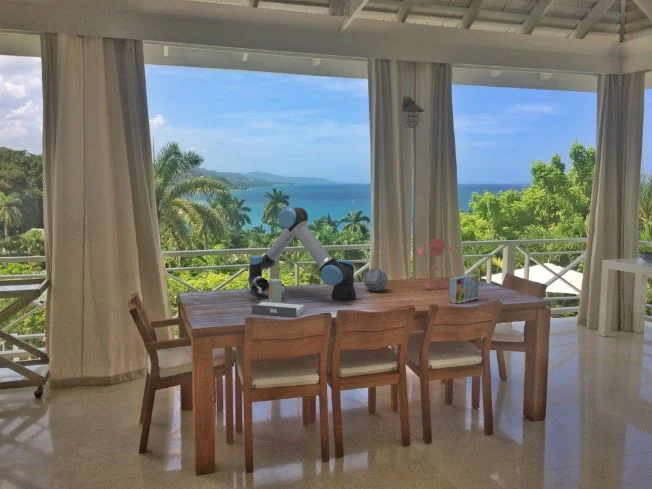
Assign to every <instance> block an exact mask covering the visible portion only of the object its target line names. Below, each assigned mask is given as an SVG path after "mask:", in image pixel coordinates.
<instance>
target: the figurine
mask: <svg viewBox="0 0 652 489" xmlns="http://www.w3.org/2000/svg"><path fill="white" fill-rule="evenodd" d="M445 247H446V248H447V249H448V250H449V251H450V252H452V253H454V251H453V249H452V247H451V246H450V245H449V244H447V243H445V240H443V239H442V237H441V236H439V237H435V238H434V239H433V238H432V239H431V244H430V245H429V252H430V253H429V254H426V253H425V252H424V249H423V247H421V246H419V247H418V248H417V250H416V251H417V255H418V256H420V257H422V256H423V255H424V257H429V256H432V255H433V259H434V260H433V261H434V265H433V266H432V268H431V269H428V270H427V271H426V273H428V272H430V271H432V270H439V269H438V266H437V264H436V263H437V262H436V257H435V256H440V255H441V254H443V253H444V249H445ZM428 277H429V276H428V274H426V280H425V283H424V286H425V287H426V289H427V288H430V289H431V282H430V281H429V279H428ZM438 285H439V287H440V288H441V286H443V284H442V282H441V280H440V279H437V283H436V286H438ZM425 287H424V288H425Z"/></svg>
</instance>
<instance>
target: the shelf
mask: <svg viewBox="0 0 652 489" xmlns="http://www.w3.org/2000/svg"><path fill="white" fill-rule="evenodd" d="M304 311H305V305H304V304H295V303H283V302H281V303H272V302H269V301H262V302H260V303H258V304H251V314H255V315H265V316H278V317H290V318H291V317H292V318H296V317H298V316H299V315H301V314H302V313H303V312H304Z"/></svg>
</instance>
